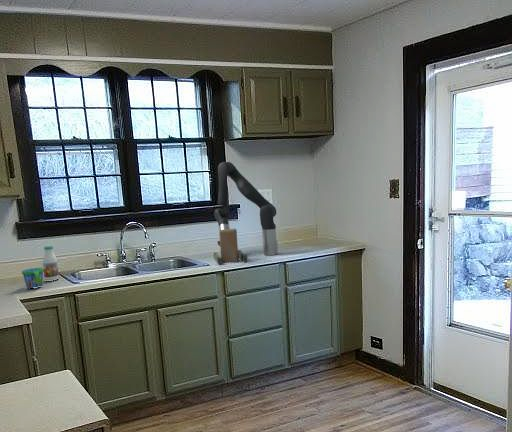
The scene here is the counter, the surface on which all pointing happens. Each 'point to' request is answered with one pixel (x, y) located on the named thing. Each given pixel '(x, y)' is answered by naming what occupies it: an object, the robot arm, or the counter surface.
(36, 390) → the counter surface
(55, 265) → the milk bottle
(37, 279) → the snack cup
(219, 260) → the lane
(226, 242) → the block
